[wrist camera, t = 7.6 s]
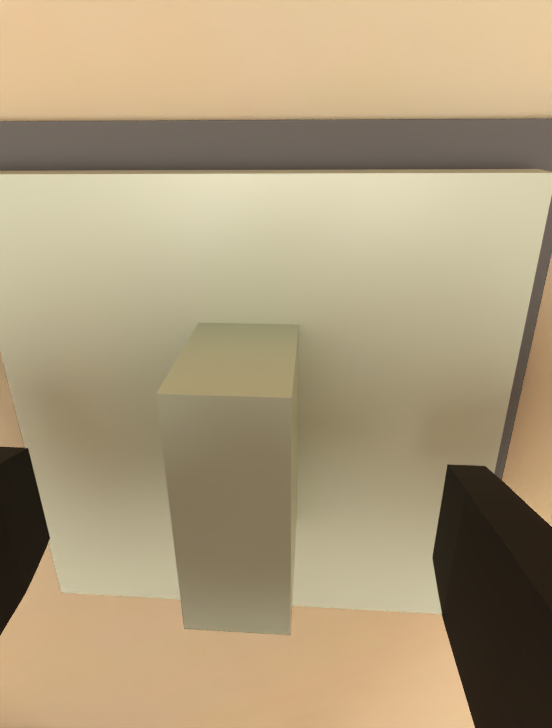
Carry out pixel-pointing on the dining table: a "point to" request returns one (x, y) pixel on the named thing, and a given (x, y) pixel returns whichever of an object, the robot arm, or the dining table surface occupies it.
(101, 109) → the dining table surface
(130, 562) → the lid
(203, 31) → the dining table surface
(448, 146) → the mat
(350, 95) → the dining table surface
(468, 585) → the robot arm
